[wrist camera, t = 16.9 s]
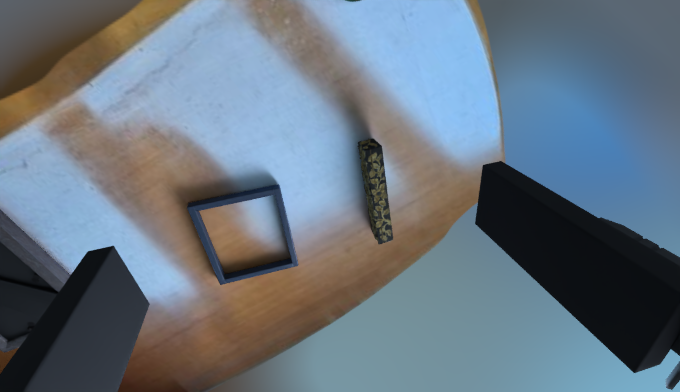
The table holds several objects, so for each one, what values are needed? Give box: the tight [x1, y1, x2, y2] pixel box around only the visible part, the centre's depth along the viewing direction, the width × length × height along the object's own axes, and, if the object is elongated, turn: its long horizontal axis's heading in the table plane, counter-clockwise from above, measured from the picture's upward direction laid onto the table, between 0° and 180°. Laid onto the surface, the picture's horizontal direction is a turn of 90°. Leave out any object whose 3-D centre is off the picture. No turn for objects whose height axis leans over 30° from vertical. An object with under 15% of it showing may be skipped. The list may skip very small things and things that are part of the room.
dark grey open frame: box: [187, 184, 298, 285], centre depth 44 cm, size 14×12×1 cm
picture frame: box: [0, 210, 70, 353], centre depth 39 cm, size 13×2×18 cm
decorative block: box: [358, 139, 393, 244], centre depth 44 cm, size 15×2×4 cm, turn 11°
